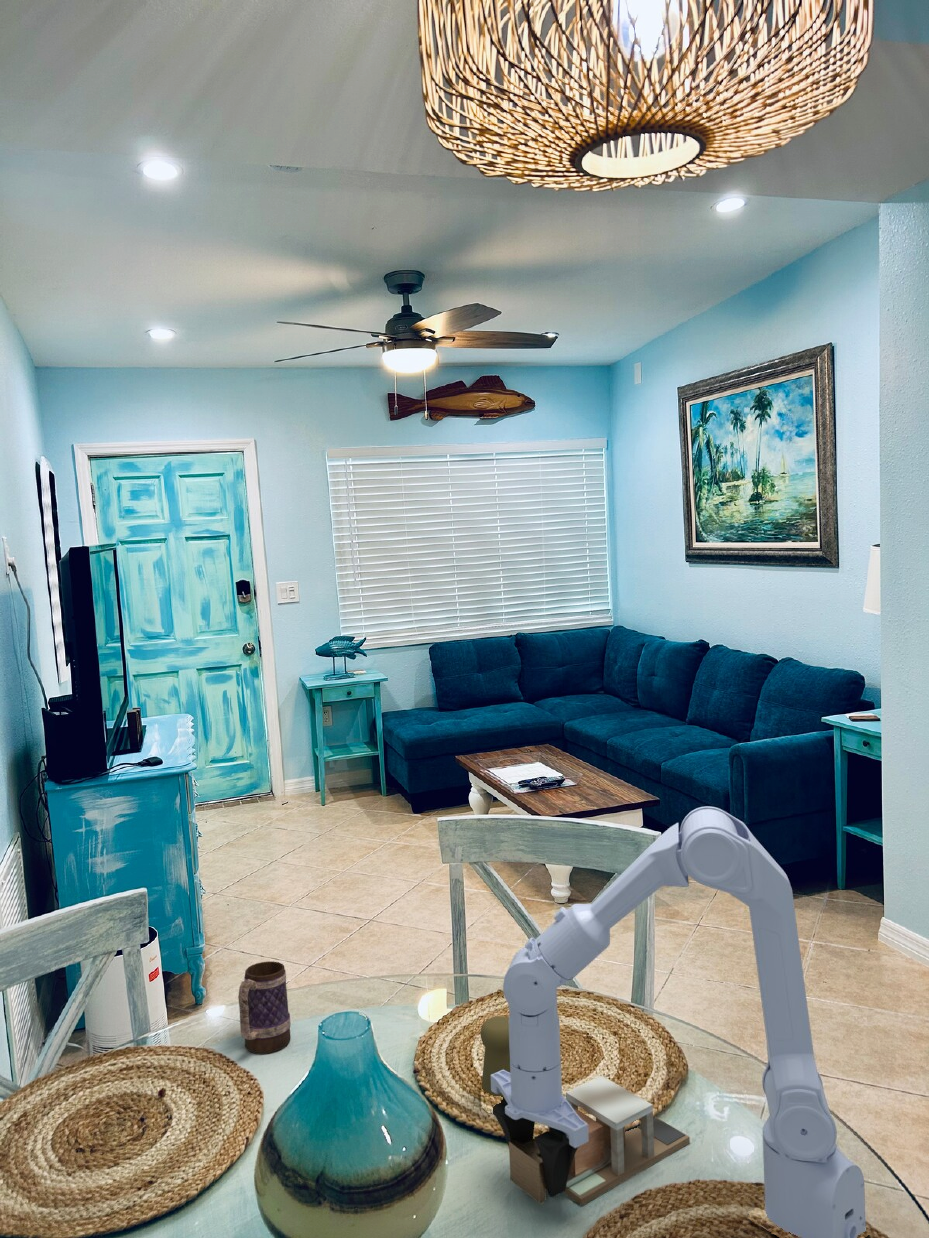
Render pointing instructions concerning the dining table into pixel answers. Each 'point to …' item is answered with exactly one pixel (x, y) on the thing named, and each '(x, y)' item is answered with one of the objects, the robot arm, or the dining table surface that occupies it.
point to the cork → (495, 1049)
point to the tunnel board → (621, 1136)
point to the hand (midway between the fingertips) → (539, 1178)
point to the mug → (264, 1008)
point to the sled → (585, 1162)
